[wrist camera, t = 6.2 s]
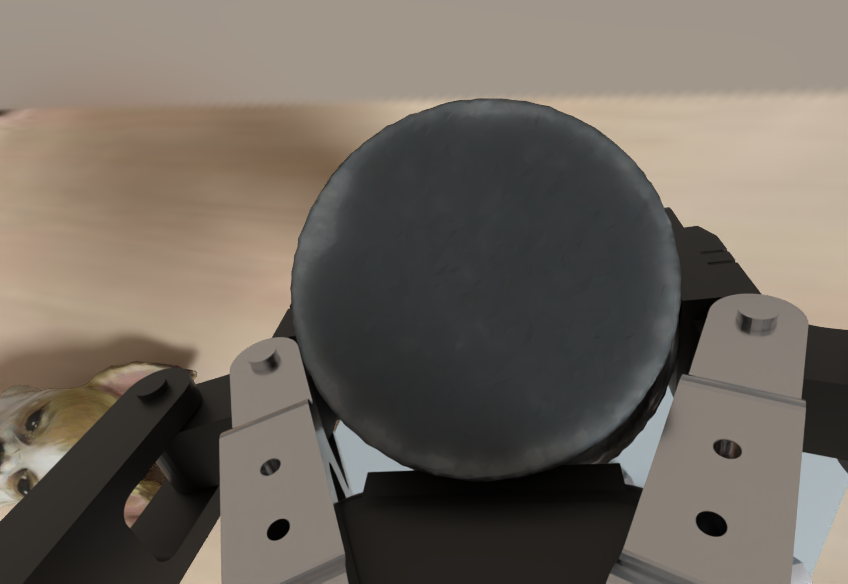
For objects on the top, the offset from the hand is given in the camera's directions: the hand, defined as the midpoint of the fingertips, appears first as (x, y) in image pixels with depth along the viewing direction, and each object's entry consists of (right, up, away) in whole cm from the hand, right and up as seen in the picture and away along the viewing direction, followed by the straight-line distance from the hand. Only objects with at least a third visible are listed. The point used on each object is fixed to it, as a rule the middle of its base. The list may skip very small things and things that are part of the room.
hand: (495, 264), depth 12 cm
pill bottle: (+1, -3, +4) cm, 5 cm away
